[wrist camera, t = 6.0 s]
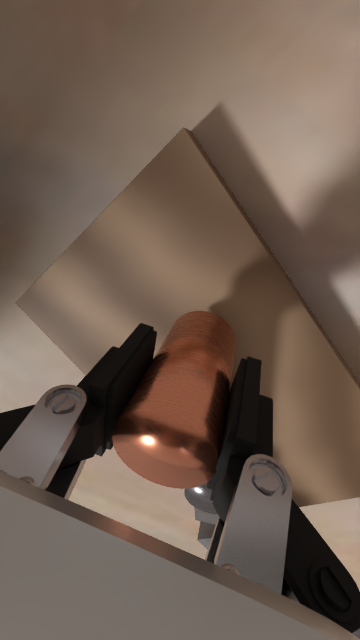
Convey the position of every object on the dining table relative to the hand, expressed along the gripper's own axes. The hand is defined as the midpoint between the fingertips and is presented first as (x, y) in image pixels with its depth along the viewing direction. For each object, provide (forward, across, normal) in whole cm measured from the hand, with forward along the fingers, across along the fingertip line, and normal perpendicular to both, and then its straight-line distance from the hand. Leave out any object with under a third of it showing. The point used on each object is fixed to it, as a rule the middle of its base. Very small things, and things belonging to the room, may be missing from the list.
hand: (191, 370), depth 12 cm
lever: (+5, -2, +8) cm, 9 cm away
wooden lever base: (+7, -1, +6) cm, 10 cm away
